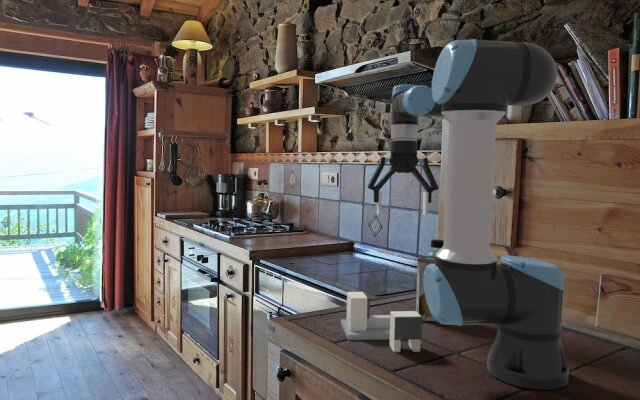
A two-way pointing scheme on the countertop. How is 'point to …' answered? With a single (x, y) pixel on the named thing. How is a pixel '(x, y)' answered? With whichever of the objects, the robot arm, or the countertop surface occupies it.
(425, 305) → the coffee box
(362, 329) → the rail base
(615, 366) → the countertop surface
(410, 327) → the white bridge block
